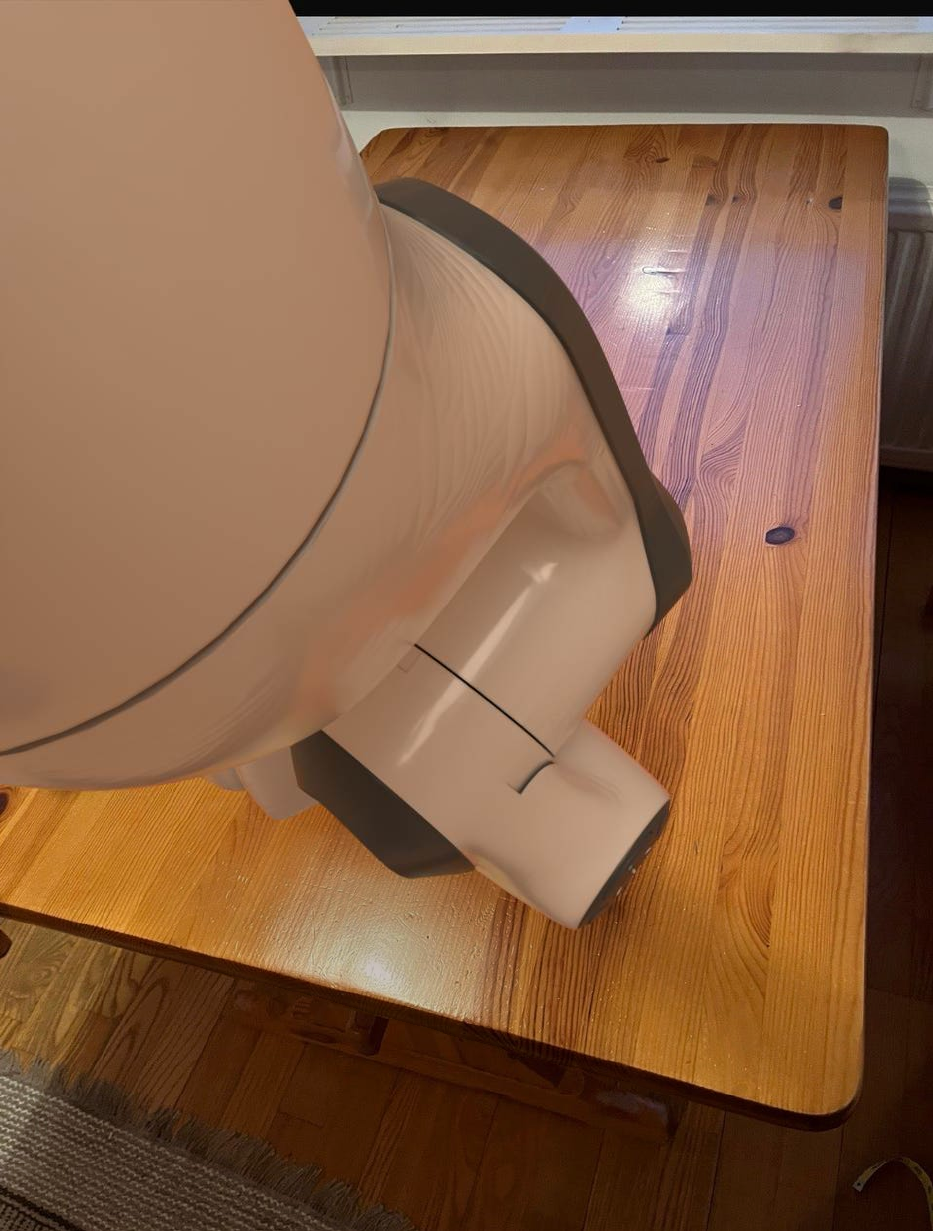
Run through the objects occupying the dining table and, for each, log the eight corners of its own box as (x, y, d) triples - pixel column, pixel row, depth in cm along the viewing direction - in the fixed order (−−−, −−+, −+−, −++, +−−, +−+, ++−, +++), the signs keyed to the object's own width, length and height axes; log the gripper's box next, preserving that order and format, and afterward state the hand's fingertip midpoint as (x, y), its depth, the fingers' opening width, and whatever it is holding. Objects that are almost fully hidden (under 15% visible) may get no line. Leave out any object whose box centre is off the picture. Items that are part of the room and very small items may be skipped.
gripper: (516, 529, 50) (349, 432, 57) (214, 780, 42) (60, 630, 49) (522, 605, 55) (367, 507, 62) (252, 844, 47) (107, 700, 54)
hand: (230, 563), depth 55 cm, fingers closed on beverage can, 5 cm apart
